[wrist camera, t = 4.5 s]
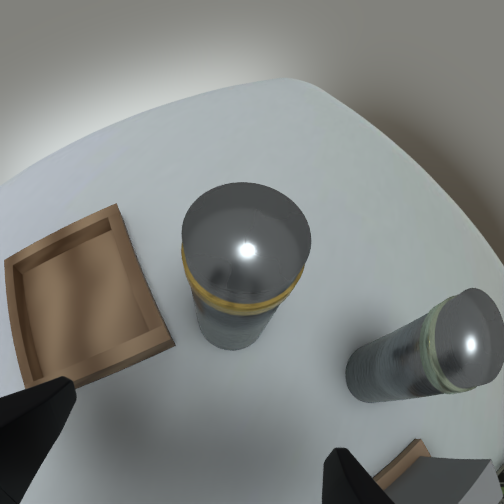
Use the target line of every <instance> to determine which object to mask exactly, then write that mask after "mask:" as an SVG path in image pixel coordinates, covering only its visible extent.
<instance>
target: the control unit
mask: <svg viewBox="0 0 504 504" xmlns="http://www.w3.org/2000/svg"><path fill="white" fill-rule="evenodd" d="M373 479H374V480H375V482H376V483H377V484H378V485H379V486H380V487H381V488H382V489H383V491H384V492H385V493H386V494H387V495H388V496H389V497H390V498H391V499H392V501H393V502H394V503H395V504H498V503H499V502H500V500H501V499H502V497H503V493H502V490H501V486H500V483H499V480H498V477H497V474H496V471H495V468H494V465H493V463H492V460H491V459H448V458H435V457H431V455H430V454H429V452H428V450H427V448H426V447H425V445H424V443H423V441H422V440H421V439H414V440H413V441H412V443H411V444H410V445H409V446H408V447H407V448H406V449H405V450H404V451H403V452H401V453H400V454H399V455H398V456H397V457H396V458H395V459H394V460H393V461H392V462H391V463H390V464H389V465H388V466H386V467H385V468H384V469H383V470H382V471H381V472H380V473H378V474H377V475H376V476H375V477H374V478H373Z"/></svg>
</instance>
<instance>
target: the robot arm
mask: <svg viewBox="0 0 504 504" xmlns="http://www.w3.org/2000/svg"><path fill="white" fill-rule="evenodd" d="M76 398H77V396H76V391H75V386H74V382H73V381H72V380H71V379H69V378H67V377H65V376H60V377H58V378H55V379H52V380H50V381H47V382H44V383H41V384H39V385H36V386H33V387H30V388H27V389H24V390H22V391H19V392H16V393H13V394H10V395H7V396H4V397H1V398H0V504H20V502H21V500H22V498H23V496H24V495H25V493H26V491H27V489H28V487H29V485H30V484H31V482H32V480H33V478H34V476H35V475H36V473H37V471H38V470H39V468H40V466H41V464H42V463H43V461H44V459H45V458H46V456H47V454H48V453H49V451H50V449H51V448H52V446H53V444H54V443H55V441H56V440H57V438H58V436H59V435H60V433H61V431H62V429H63V427H64V425H65V423H66V421H67V418H68V416H69V414H70V412H71V410H72V408H73V406H74V404H75V402H76ZM322 504H395V503H394V502H393V501H392V499H391V498H390V497H389V496H388V495H387V494H386V493H385V492H384V491H383V489H382V488H381V487H380V486H379V485H378V484H377V483H376V482H375V480H374V479H373V478H372V477H371V476H370V475H369V474H368V472H367V471H366V470H365V469H364V468H363V467H362V466H361V464H360V463H359V462H358V461H357V460H356V458H355V457H354V456H353V455H352V454H351V453H350V451H349V450H348V449H347V448H334V449H333V450H332V452H331V453H330V454H329V456H328V457H327V458H326V460H325V462H324V468H323V488H322Z"/></svg>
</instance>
